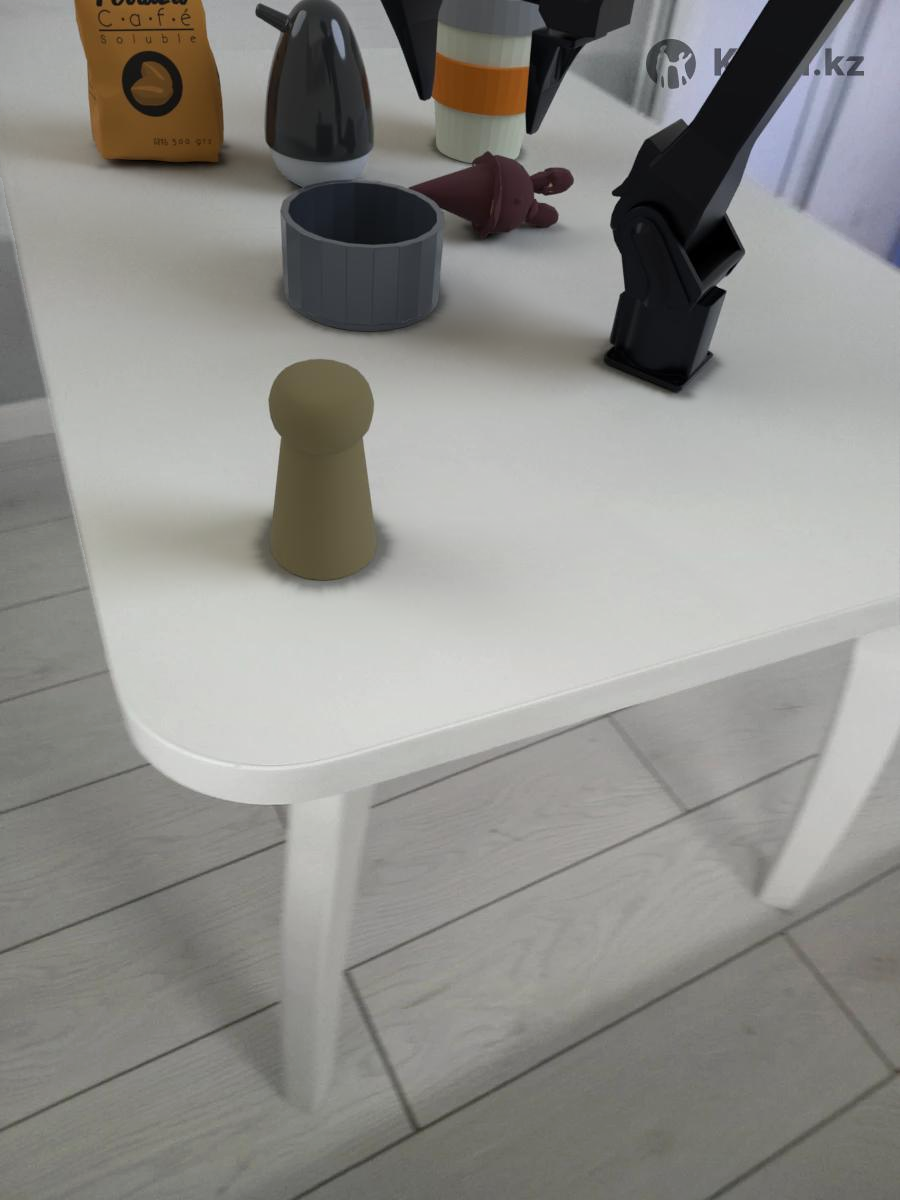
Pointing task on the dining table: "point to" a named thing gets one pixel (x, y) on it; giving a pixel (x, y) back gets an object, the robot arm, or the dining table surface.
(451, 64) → the reusable coffee cup
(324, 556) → the olive pawn
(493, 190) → the icecream
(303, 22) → the black glossy tall vessel
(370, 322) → the bowl
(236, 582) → the dining table surface
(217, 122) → the coffee package
